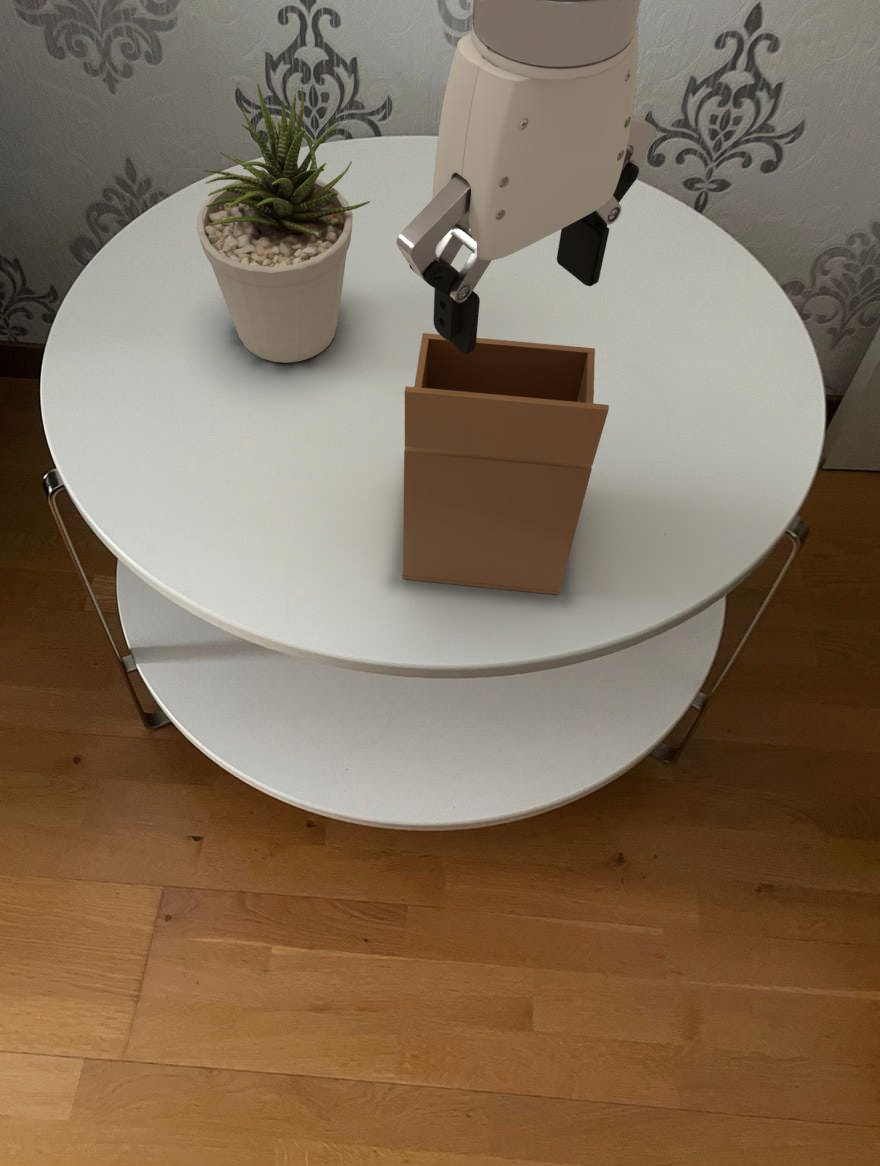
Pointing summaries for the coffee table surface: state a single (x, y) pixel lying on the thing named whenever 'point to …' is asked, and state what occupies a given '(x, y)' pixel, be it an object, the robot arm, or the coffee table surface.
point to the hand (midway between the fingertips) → (516, 305)
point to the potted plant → (279, 244)
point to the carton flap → (503, 425)
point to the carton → (495, 475)
